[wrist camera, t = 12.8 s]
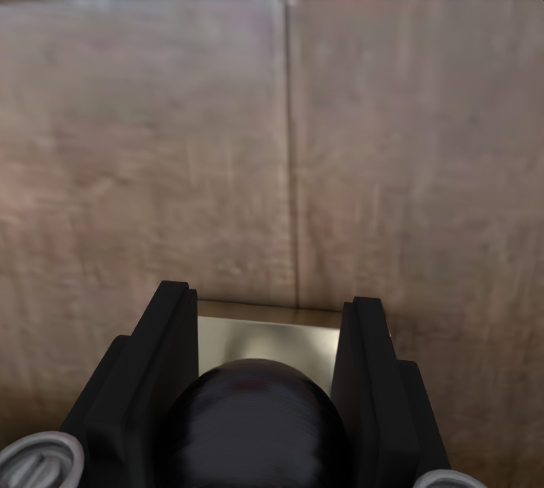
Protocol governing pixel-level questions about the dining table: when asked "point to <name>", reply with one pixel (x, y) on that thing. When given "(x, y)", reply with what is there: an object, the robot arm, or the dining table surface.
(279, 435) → the lever switch
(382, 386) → the robot arm
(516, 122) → the dining table surface
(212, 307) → the metal lever base
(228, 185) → the dining table surface
